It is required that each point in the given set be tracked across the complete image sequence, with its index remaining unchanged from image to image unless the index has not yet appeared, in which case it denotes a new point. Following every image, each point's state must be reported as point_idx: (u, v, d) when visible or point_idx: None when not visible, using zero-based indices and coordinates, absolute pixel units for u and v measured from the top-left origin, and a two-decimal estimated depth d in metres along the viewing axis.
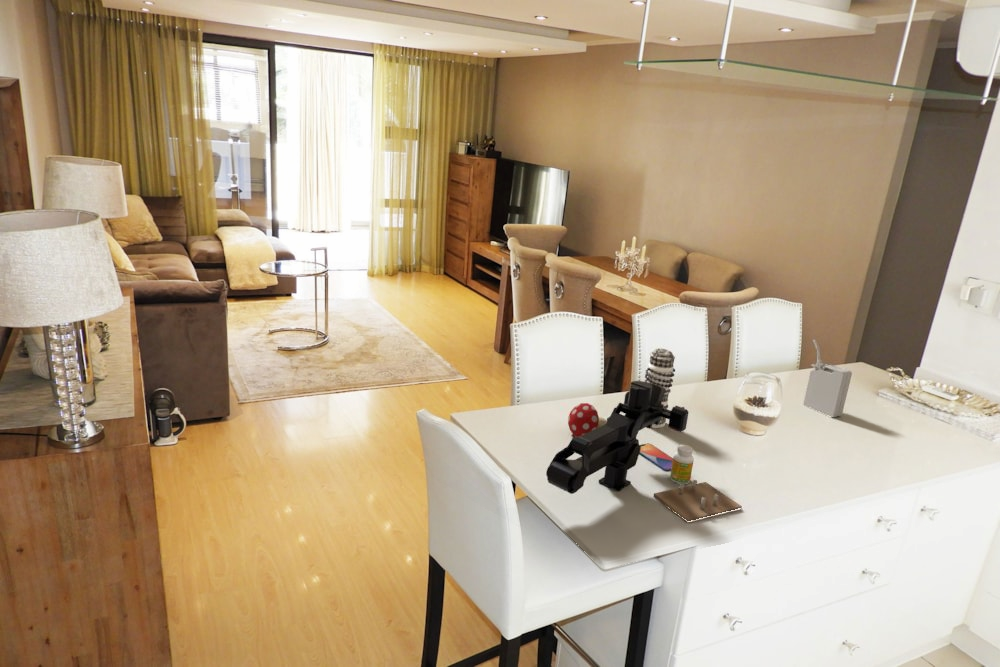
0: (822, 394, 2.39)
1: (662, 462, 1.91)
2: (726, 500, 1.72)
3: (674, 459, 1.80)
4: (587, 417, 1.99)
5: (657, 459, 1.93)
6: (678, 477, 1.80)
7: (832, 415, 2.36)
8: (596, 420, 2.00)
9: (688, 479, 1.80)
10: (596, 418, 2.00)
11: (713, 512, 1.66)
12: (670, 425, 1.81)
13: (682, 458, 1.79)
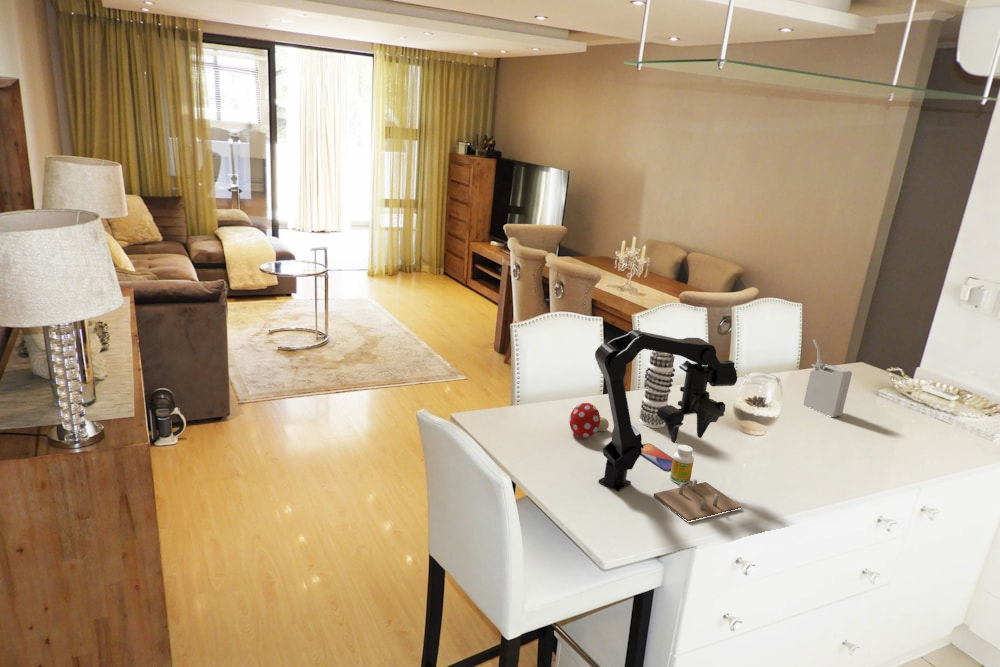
0: (822, 394, 2.39)
1: (662, 462, 1.91)
2: (726, 500, 1.72)
3: (674, 459, 1.80)
4: (588, 417, 2.00)
5: (657, 459, 1.93)
6: (678, 477, 1.80)
7: (832, 415, 2.36)
8: (597, 420, 2.00)
9: (688, 479, 1.80)
10: (597, 418, 2.00)
11: (713, 512, 1.66)
12: (670, 405, 1.75)
13: (682, 458, 1.79)
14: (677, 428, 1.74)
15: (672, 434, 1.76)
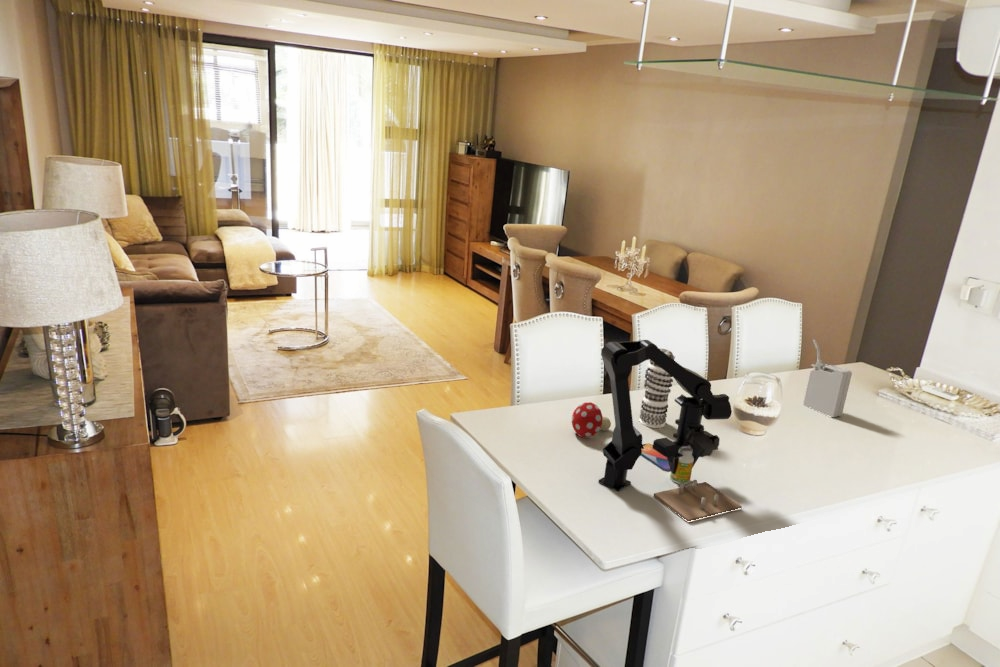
0: (822, 394, 2.39)
1: (662, 462, 1.91)
2: (726, 500, 1.72)
3: None
4: (591, 416, 2.00)
5: (657, 459, 1.92)
6: (678, 477, 1.80)
7: (832, 415, 2.36)
8: (600, 419, 2.01)
9: (688, 479, 1.80)
10: (600, 417, 2.01)
11: (713, 512, 1.66)
12: (665, 438, 1.78)
13: (682, 458, 1.79)
14: (677, 459, 1.78)
15: (672, 465, 1.80)
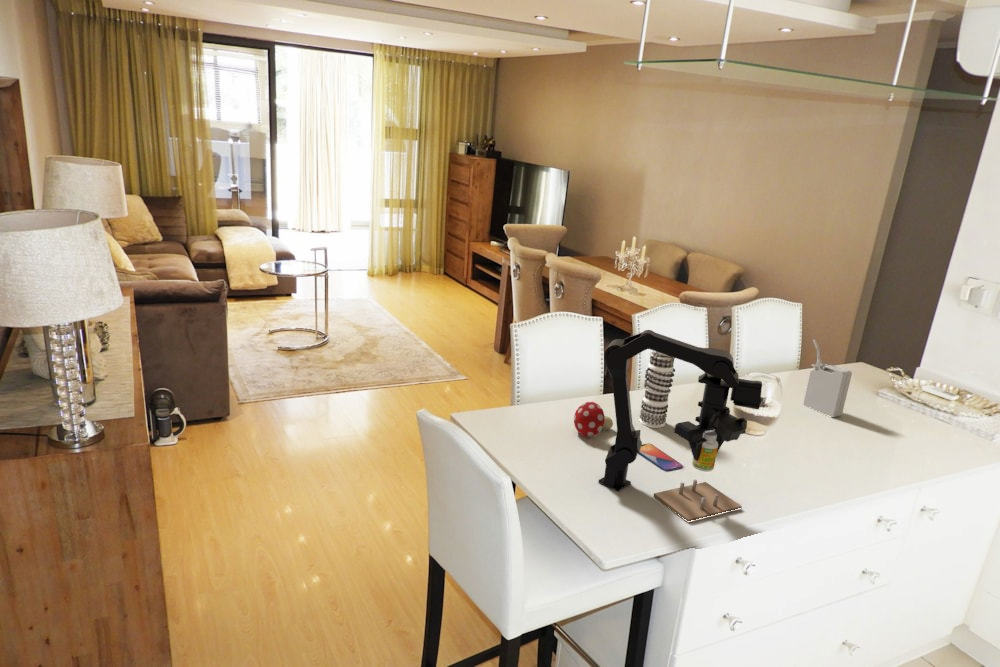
0: (822, 394, 2.39)
1: (662, 462, 1.91)
2: (726, 500, 1.72)
3: None
4: (593, 416, 2.01)
5: (657, 459, 1.92)
6: (701, 464, 1.66)
7: (832, 415, 2.36)
8: (602, 419, 2.01)
9: (712, 466, 1.67)
10: (602, 417, 2.01)
11: (713, 512, 1.66)
12: (687, 421, 1.64)
13: (706, 443, 1.65)
14: (700, 445, 1.64)
15: (695, 451, 1.66)
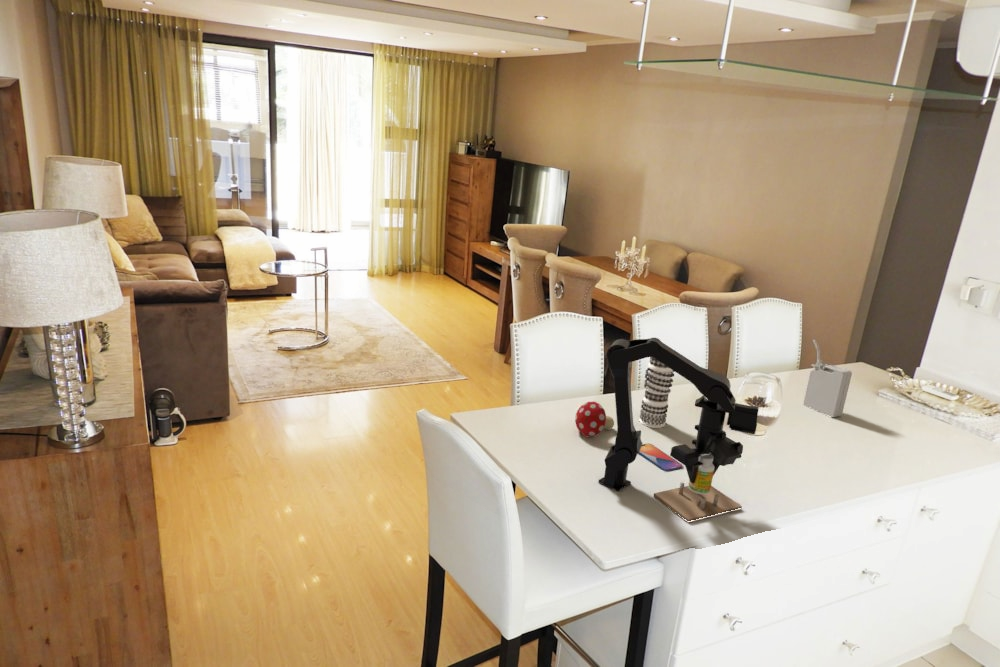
0: (822, 394, 2.39)
1: (662, 462, 1.91)
2: (726, 500, 1.72)
3: None
4: (594, 415, 2.01)
5: (657, 459, 1.92)
6: (697, 487, 1.67)
7: (832, 415, 2.36)
8: (603, 418, 2.01)
9: (708, 489, 1.68)
10: (603, 416, 2.02)
11: (713, 512, 1.66)
12: (684, 445, 1.65)
13: (702, 466, 1.66)
14: (696, 468, 1.65)
15: (691, 474, 1.67)
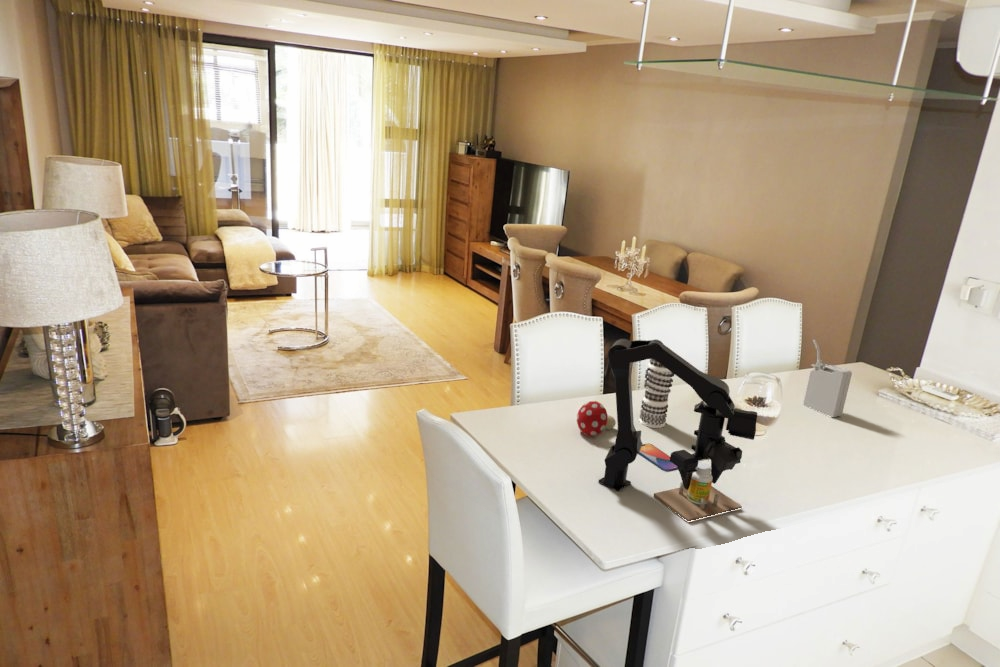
0: (822, 394, 2.39)
1: (662, 462, 1.91)
2: (726, 500, 1.72)
3: (691, 478, 1.69)
4: (596, 415, 2.02)
5: (657, 459, 1.92)
6: (696, 497, 1.68)
7: (832, 415, 2.36)
8: (605, 418, 2.02)
9: (706, 499, 1.69)
10: (605, 416, 2.02)
11: (713, 512, 1.66)
12: (683, 450, 1.66)
13: (701, 477, 1.67)
14: (690, 474, 1.65)
15: (685, 480, 1.67)
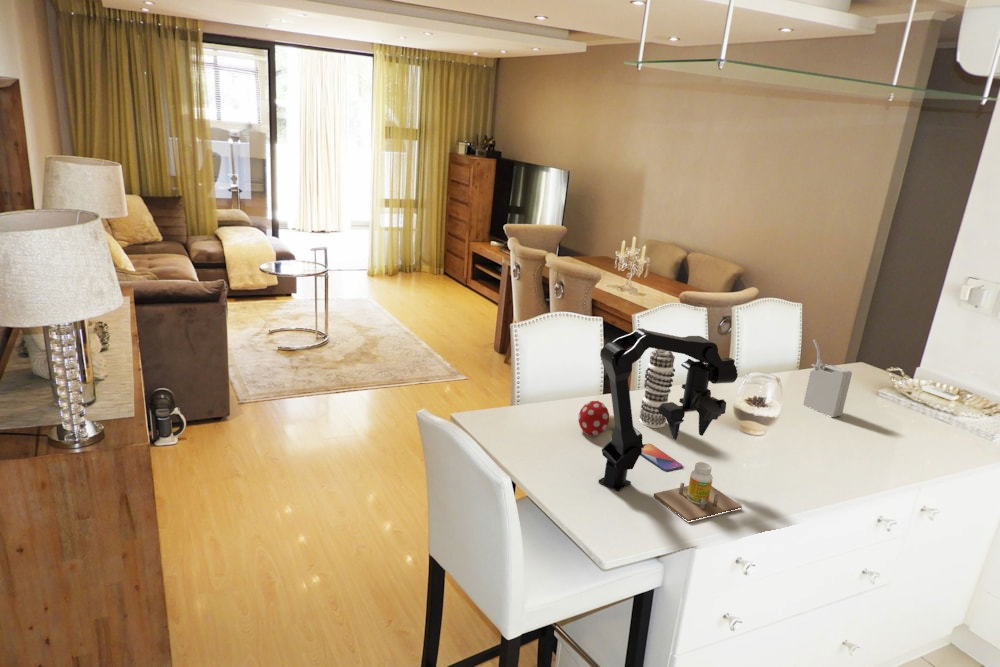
0: (822, 394, 2.39)
1: (662, 462, 1.91)
2: (726, 500, 1.72)
3: (691, 478, 1.69)
4: (597, 415, 2.02)
5: (657, 459, 1.92)
6: (696, 497, 1.68)
7: (832, 415, 2.36)
8: (607, 417, 2.02)
9: (706, 499, 1.69)
10: (607, 415, 2.02)
11: (713, 512, 1.66)
12: (671, 402, 1.77)
13: (701, 477, 1.67)
14: (678, 425, 1.76)
15: (673, 431, 1.78)
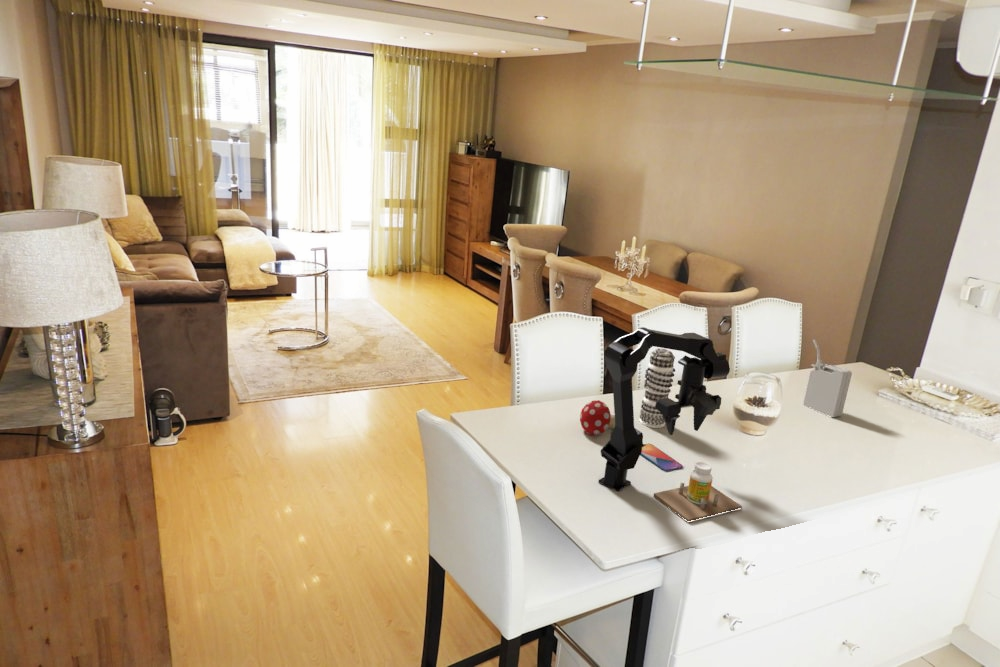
0: (822, 394, 2.39)
1: (662, 462, 1.91)
2: (726, 500, 1.72)
3: (691, 478, 1.69)
4: (599, 414, 2.02)
5: (657, 459, 1.92)
6: (696, 497, 1.68)
7: (832, 415, 2.36)
8: (608, 417, 2.03)
9: (706, 499, 1.69)
10: (608, 415, 2.03)
11: (713, 512, 1.66)
12: (667, 398, 1.80)
13: (700, 477, 1.67)
14: (674, 420, 1.79)
15: (669, 426, 1.81)
